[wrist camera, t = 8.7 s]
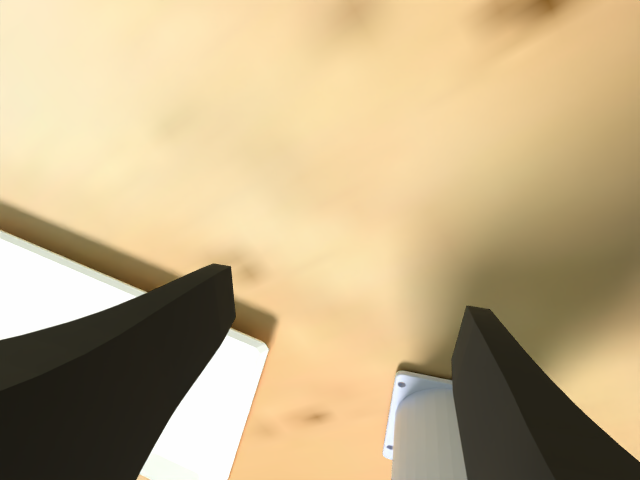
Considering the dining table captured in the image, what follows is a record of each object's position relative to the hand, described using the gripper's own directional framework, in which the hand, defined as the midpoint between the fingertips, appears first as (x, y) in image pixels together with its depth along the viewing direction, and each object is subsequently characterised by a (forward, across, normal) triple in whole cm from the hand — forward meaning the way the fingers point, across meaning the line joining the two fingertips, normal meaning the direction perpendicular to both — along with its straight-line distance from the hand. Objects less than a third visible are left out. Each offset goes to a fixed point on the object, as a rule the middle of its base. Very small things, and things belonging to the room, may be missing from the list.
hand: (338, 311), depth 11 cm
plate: (+11, +22, +20) cm, 32 cm away
